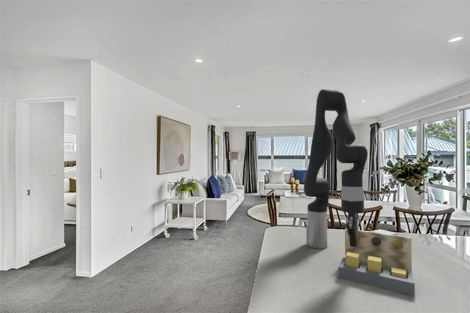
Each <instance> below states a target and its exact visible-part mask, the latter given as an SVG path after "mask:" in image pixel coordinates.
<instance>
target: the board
mask: <svg viewBox="0 0 470 313" xmlns="http://www.w3.org/2000/svg"><path fill="white" fill-rule="evenodd" d="M337 268H338V270H337V271H338V273H337V274H338V276H337V277H338V278H337V279H341V280H345V281H349V282H353V283H358V284H362V285H366V286H369V287H375V288H378V289H382V290H386V291H391V292H394V293H399V294H403V295H407V296H411V297H416V294H415V292H416V290H415V289H416V288H415V287H416V286H415V285H416V284H415V278H414V272H413V270H412V271H409V270H406V278H401V277H397V276H392V267H389V266H384V265H382V273H378V272H373V271H369V270H368V262H364V261H359V268H355V267H350V266H346V258H345V257H342V259H341V261H340V262H339V265H338V267H337Z"/></svg>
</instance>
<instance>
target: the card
mask: <svg viewBox="0 0 470 313" xmlns="http://www.w3.org/2000/svg"><path fill="white" fill-rule="evenodd" d="M347 252H351V253H356V254H359V261H364V262H368V256H372V257H378V258H381V263H382V265H384V266H389V267H394V268H399V269H404V270H409V271H413V270H412V269H413V267H412V266H413V265H412V262H413V261H412V260H413V259H412V252H413V251H412V237H408V236H401V235H397V236H395V235H388V234H381V233H373V232H370V231H366V230H365V231H364V230H358V233H357V246H356V247H351V246H350V236H349V235H348V231H347V228H345V229H344V258H346V254H347Z"/></svg>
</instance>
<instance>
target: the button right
mask: <svg viewBox="0 0 470 313" xmlns="http://www.w3.org/2000/svg"><path fill="white" fill-rule="evenodd" d="M392 276H397V277H401V278H406V270H404V269H399V268H394V267H392Z"/></svg>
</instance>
